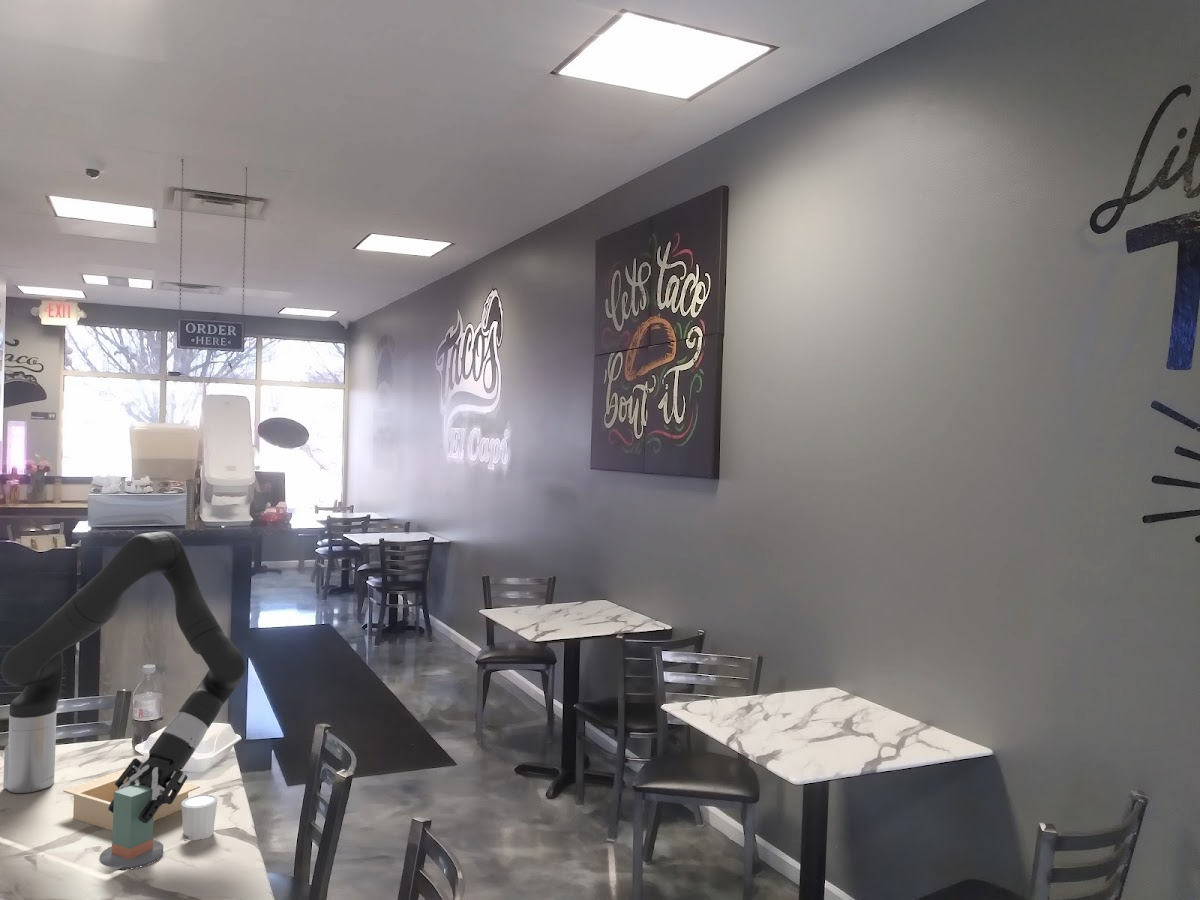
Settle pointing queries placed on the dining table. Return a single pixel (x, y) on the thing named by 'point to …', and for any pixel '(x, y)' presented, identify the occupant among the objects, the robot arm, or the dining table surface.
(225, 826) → the dining table surface
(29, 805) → the dining table surface
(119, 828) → the box
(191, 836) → the white cup
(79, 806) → the carton
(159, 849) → the slate plate
